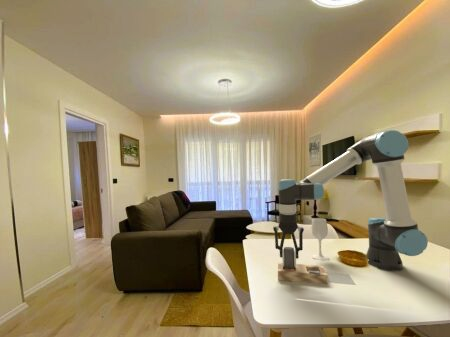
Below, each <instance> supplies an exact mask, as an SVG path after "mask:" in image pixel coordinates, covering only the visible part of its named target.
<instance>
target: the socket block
mask: <svg viewBox="0 0 450 337" xmlns="http://www.w3.org/2000/svg"><path fill="white" fill-rule="evenodd" d="M294 269H295V270H294ZM294 269H287V268H285V270H284V266H283V262H277V280H278V281H285V282H293V281H294V282H306V283H313V284H314V283H315V284H326V285H328V278H327V273H326V272H327V271H326V269H325V267H324V266H323V265H313V264H304V263H303V264H301V263H296V267H294Z"/></svg>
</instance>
